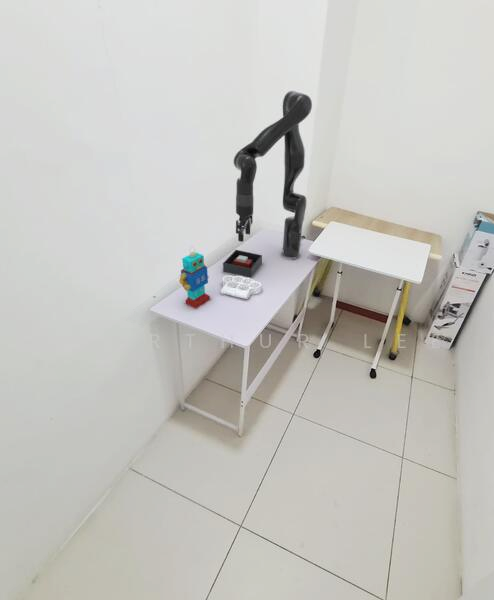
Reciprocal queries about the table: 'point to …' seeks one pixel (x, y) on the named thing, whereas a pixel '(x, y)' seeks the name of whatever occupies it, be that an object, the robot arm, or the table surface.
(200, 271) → the toy robot
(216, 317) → the table surface
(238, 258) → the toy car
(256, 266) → the storage box
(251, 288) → the knuckle duster
